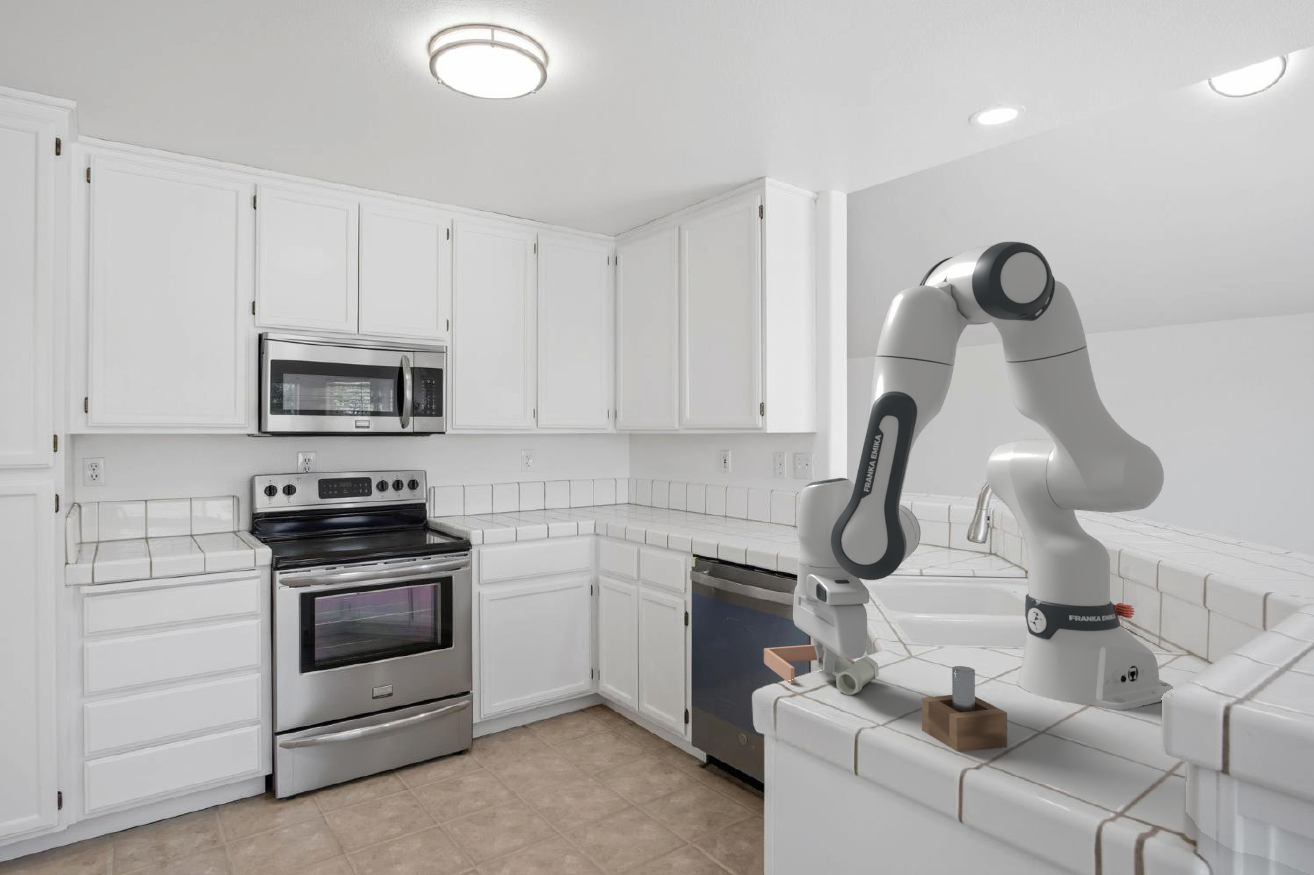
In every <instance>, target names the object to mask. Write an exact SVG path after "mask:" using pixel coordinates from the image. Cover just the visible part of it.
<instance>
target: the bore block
mask: <svg viewBox="0 0 1314 875" xmlns="http://www.w3.org/2000/svg"><path fill="white" fill-rule="evenodd" d="M921 731H922V732H924V733H925V734H927V735H929V736H931V737H933V739H936V740H937V741H939V742H941V743H942V744H944V746H945V745H946V746H947V747H949V748H950V749H952V750H954V751H955V752H966V751H967V752H968V751H979V750H981V751H982V750H991V749H1005V748H1008V712H1006V711H1005V710H1003V709H1001V708H999V707H997V706H995V705H993V704H991V703H989V702H988V701H985V700H984V699H981V698H980V697H977V696H976V695H975V711H971V712H962V713H959V712H957V711H956V710H954V709H952V694H949V695H948V694H946V695H937V696H927V697H926V696H925V697H922V698H921Z"/></svg>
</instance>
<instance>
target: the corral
mask: <svg viewBox="0 0 1314 875" xmlns="http://www.w3.org/2000/svg"><path fill="white" fill-rule="evenodd" d="M838 657H839V656H838ZM838 657H837V658H838ZM845 659H847V660H848V661H849V662H851V663H852V664H854V662H855V661H856V660H855V661H854V660H853V659H852V658H845ZM809 661H810V662H811V661H817V655H816V651H815V647H814V644H806V645H805V644H803V645H792V646H779V647H778V646H777V647H765V648H763V664H764V665H765V666H767V667H768V668H769V669H771V670H772V671H773V672H774V673H776V674H777V675H778V676H779V677H781V678H782V679H783V680H785V681H786V682H787V681H788V680H791V681H789V682H788V684H789V685H795V682H796V681H795V679H796V678H795V670H796V668H795V666H793V665H792V664H790V663H796V662H797V663H798V662H809ZM792 679H793V680H792Z"/></svg>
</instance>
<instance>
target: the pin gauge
mask: <svg viewBox="0 0 1314 875" xmlns="http://www.w3.org/2000/svg"><path fill="white" fill-rule="evenodd" d="M951 670H952V671H951V681H952V683H951V684H952V685H951V687H952V688H951V689H952V691H951V692H952V693H951V695H952V709H954V710H956V711H957V712H959V713H962V712H971V711H975V696H976V670H975V669H974V668H972V667H969V666H962V665H956V666H952V668H951Z"/></svg>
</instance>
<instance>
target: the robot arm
mask: <svg viewBox="0 0 1314 875" xmlns="http://www.w3.org/2000/svg"><path fill="white" fill-rule="evenodd" d="M990 323H991V324H992V325H993V326H994V327H995V328H996V329H997V331H998V332H999V334H1000V337H1001V340H1002V346H1003V354H1004V360H1005V366H1006V371H1007V375H1008V381H1009V386H1010V392H1011V396H1012V401H1013V404H1014V406H1015V409H1016V410H1017V411H1018V412H1019V413H1020V414H1021V415H1022V416H1024V417H1025V418H1027V419H1029V420H1031V421H1032V422H1033V421H1034V422H1035V423H1036V424H1038V425H1039V426H1040V427H1041V428H1043V430H1044V431H1046V433H1047V434H1048V436H1049V437H1050V438H1026V439H1020V440H1015V441H1011V442H1008V443H1004V444H1003V443H1002V444H1000V445H998V446H997V447H995V448H994V449H993V451H992V452H991V454H990V455H989V458H988V459H987V462H986V468H985V475H986V476H985V477H986V481H987V484H988V486H989V489H990V490H991V492H992V493H993V494H994V496H996V497H997V499H999V500H1000V501H1001V502H1002V503H1003V504H1005V506H1006V507H1007V508H1008V509H1009V511H1010V512H1011V513H1012V515H1013V517H1014V520H1016V522H1017V523H1018V526H1019V528H1020V531H1021V534H1022V537H1023V540H1024V543H1025V544H1024V545H1025V550H1026V559H1027V560H1026V561H1027V580H1028V581H1027V582H1028V584H1027V586H1028V593H1027V594H1025V601H1024V607H1025V608H1024V616H1025V620H1026V621H1025V622H1026V625H1027V626H1026V628H1027V630H1026V635H1025V641H1024V642H1025V643H1024V649H1023V657H1022V663H1021V665H1020V671H1019V673H1018V674H1019V675H1018V677H1017V679H1016V680H1017V681H1016V682H1017V685H1018V686H1019V687H1020V688H1021V689H1023V690H1024V691H1027V692H1028V693H1031V694H1034V696H1035V695H1036V696H1038V697H1042V698H1045V699H1050V700H1054V701H1059V702H1063V703H1064V702H1065V703H1070V704H1078V705H1084V706H1085V705H1087V706H1093V707H1098V708H1103V709H1107V710H1114V711H1124V710H1125V709H1126V710H1128V709H1127V708H1131V709H1134V708H1133V707H1136V708H1139V707H1144V706H1147V705H1152V704H1157V703H1160V702H1162V701H1161V698H1162V696H1163V694H1164V693H1166V692H1167V691H1169V690H1171V689H1173V687H1174V685H1171V684H1169V683H1168V682H1166V681H1163V680H1162V679H1160V672H1159V664H1158V661H1157V657H1156V655H1155V654H1154V652H1153V651H1152V650H1151V649H1150V648H1149V647H1147V646H1146V645H1145V644H1143V643H1142V642H1141V641H1139V640H1138V639H1137V638H1135V637H1134V636H1133V635H1132V634H1130V633H1129V632H1128V631H1127V630H1125V628H1123V627H1122V626H1121V621H1120V618H1119V617H1122V618H1126V619H1132V618H1133V617H1134V615H1135V612H1136V611H1135V608H1133V606H1132V605H1129V604H1124V603H1122V602H1118V603H1116V604H1114V603H1113V602H1112V601H1111V561H1110V560H1111V558H1110V554H1109V551H1108V550H1107V548H1106V547H1105V546H1104V544H1103V543H1102V542H1100V541H1099V540H1098V539H1097V538H1095V537H1093V536H1092V535H1090V534H1089V533H1087V532H1086V530H1084V528H1083V527H1082V526H1081V524H1080V523H1079V521H1078V519H1077V517H1076V513H1075V511H1083V512H1086V511H1087V512H1098V513H1106V514H1109V513H1111V514H1112V513H1120V512H1121V513H1122V512H1130V511H1139V510H1144V509H1146V508H1148V507H1150V506H1151V505H1152V504H1153V503H1154V502H1155V501H1156V500H1157V499H1158V497H1159V495H1160V494H1161V491H1162V489H1163V486H1164V480H1165V473H1164V468H1163V464H1162V462H1161V460H1160V457H1158V455H1157V454H1156V453H1155V451H1154V450H1153V449H1152V448H1151V447H1150V446H1148V445H1147V444H1146V443H1144V442H1141V441H1139V440H1137V439H1136V438H1135V437H1133V436H1132V435H1130V434H1129V433H1128V432H1127V431H1126V430H1125V429H1123V428H1122V427H1121V426H1120V424H1118V423H1117V421H1116V420H1115V418H1113V417H1112V415H1111V414H1110V413H1109V411H1108V410H1107V408H1106V406H1105V404H1104V403H1103V401H1102V400H1101V397H1100V395H1099V392H1098V389H1097V385H1096V382H1095V378H1094V373H1093V370H1092V366H1091V361H1090V357H1089V356H1090V354H1089V350H1088V345H1087V340H1086V335H1085V330H1084V326H1083V322H1082V320H1081V316H1080V313H1079V310H1078V308H1077V304H1076V303H1075V300H1074V297H1073V295H1072V292H1071V291H1070V289H1069V288H1068V287H1067V286H1066V285H1065V283H1063V282H1061V281H1059V280H1056V279H1055V277H1054V275H1053V272H1052V269H1051V266H1050V264H1049V262H1048V260H1047V259H1046V257H1045V256H1044V254H1043V253H1042V251H1041V250H1039V249H1038V248H1037V247H1035V246H1034V245H1031V244H1029V243H1025V242H1020V241H1002V242H998V243H996V244H991V245H984V246H979V247H973V248H970V249H968V250H966V251H964V252H963V253H959V254H957V255H956V256H951V257H948V258H944V259H943V260H941V261H939V262H937V263H936V264H934V265H933V266H932V267H931V268H930V269H929V270H928V271H927V272H926V274H925V275H923V278H922V280H921V282H920V283H919V285H913V286H911V287H910V286H909V287H907V288H905V289H903V290H901V291H899V292H898V293H897V294H895V296H894V297H893V298H892V300H891V302H890V304H889V308H888V311H887V312H886V316H885V319H884V322H883V325H882V328H881V330H880V331H881V332H880V336H879V339H878V342H877V348H876V353H875V359H874V364H873V372H872V380H871V390H870V404H869V413H868V422H867V429H866V433H865V436H864V437H865V438H864V442H863V447H862V452H861V456H860V460H859V463H858V464H859V465H858V469H857V473H856V478H855V483H854V482H853V481H852V480H851V479H849V478H846V477H837V478H831V479H825V480H824V479H823V480H817V481H813V482H810V483H808V484H806V485H805V486H804V487H803V488H802V490H801V492H800V497H799V502H798V511H797V539H798V542H799V551H798V552H799V553H798V556H797V565H796V566H797V584H796V585H795V588H794V592H793V608H792V618H793V623H794V626H795V627H796V628H797V629H799V630H800V631H802V632H804V633H805V634H807V635H808V636H809V637H811V638H812V639H813V645H814V647H815V651H816V655H817V660H816V666H817V667H818V668H819V669H820V670H821V671H823V672H824V673H826V674H832V673H834V672H835V661H836V659H837V657H838V656H839V657H841V658H850V659H857V658H859V659H861V658H863V657H864V654H865V653H866V650H867V641H868V611H867V608H866V606H865V605H867V604H869V602H870V591H869V589H868V588H867V587H866V586H865V584H864V583H863V582H862V580H866V581H877V580H881V579H885V578H887V577H889V576H890V575H892V574H893V573H895V571H897V569H898V568H899V566H900V565H901V564H902V563H903V562H905V561H906V560H907V558H909V557H910V556H911V555H912V554H913V553H914V552H915V551H916V550H917V548H918V546H919V544H920V540H921V526H920V523H919V521H918V519H917V517H916V516H915V514H914V513H913V512H912V511H911V510H910V509H909V508H907V507H906V506H905V505H902V504H901V499H902V494H903V490H904V484H905V480H906V477H907V476H906V475H907V470H908V465H909V461H910V457H911V453H912V450H913V448H914V445H915V443H916V441H917V439H918V438H919V436H920V434H921V433H922V432H923V431H924V429H925V428H926V426H928V425H929V423H930V422H932V421H933V419H934V418H935V417H936V416H938V414H939V413H940V412H941V410H942V407H943V405H944V403H945V400H946V398H947V396H948V392H949V389H950V386H951V383H952V377H953V373H954V368H955V367H954V366H955V360H956V355H957V346H958V342H959V340H960V337H961V335H962V333H963V332H964V330H966V328H967V326H968V325H969V326H972V325H973V326H976V325H986V324H990ZM1156 701H1157V702H1156ZM1143 705H1144V706H1143Z"/></svg>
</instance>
